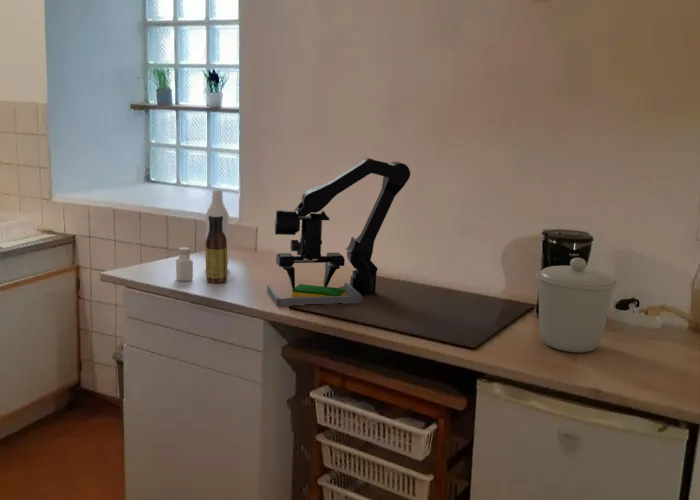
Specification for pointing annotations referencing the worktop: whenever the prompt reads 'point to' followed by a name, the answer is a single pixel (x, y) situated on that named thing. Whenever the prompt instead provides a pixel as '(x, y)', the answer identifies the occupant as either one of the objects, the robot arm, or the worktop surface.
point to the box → (317, 298)
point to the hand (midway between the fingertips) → (309, 289)
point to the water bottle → (219, 209)
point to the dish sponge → (316, 291)
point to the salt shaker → (184, 265)
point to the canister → (574, 305)
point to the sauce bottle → (216, 251)
